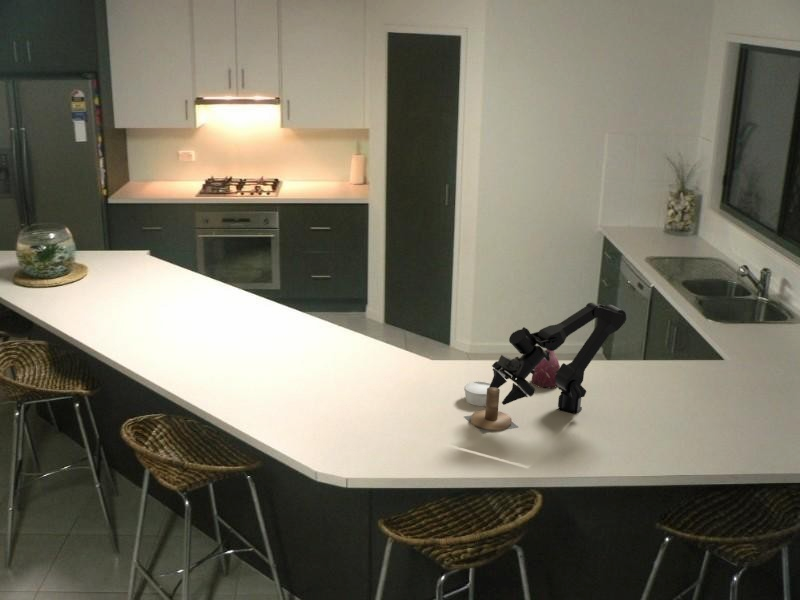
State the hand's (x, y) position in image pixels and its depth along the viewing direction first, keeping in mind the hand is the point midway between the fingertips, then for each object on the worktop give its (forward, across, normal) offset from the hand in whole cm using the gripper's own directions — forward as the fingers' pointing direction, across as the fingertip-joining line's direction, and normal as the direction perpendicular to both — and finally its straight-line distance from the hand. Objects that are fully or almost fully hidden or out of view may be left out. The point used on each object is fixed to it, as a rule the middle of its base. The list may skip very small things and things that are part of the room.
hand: (495, 398), depth 319 cm
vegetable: (-18, -23, +30) cm, 42 cm away
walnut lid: (+6, 0, +5) cm, 8 cm away
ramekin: (+3, -16, +9) cm, 19 cm away
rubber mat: (+7, 0, +5) cm, 9 cm away
